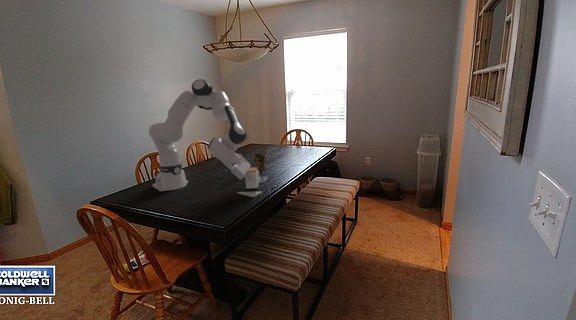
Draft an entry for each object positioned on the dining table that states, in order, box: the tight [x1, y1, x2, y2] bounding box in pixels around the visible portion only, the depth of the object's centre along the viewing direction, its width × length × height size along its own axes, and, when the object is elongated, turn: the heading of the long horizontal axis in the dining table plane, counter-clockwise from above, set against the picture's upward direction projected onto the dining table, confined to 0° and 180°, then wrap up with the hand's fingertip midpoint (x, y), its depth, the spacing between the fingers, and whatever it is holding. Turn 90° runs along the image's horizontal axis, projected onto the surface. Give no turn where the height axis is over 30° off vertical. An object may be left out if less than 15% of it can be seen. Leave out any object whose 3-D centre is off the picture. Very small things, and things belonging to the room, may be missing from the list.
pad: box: [236, 190, 267, 198], centre depth 156 cm, size 12×12×1 cm
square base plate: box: [258, 170, 268, 183], centre depth 173 cm, size 11×11×6 cm
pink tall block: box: [244, 166, 260, 189], centre depth 155 cm, size 6×6×10 cm
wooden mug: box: [253, 146, 268, 171], centre depth 193 cm, size 9×14×18 cm, turn 39°
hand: (252, 177), depth 155 cm, fingers closed on pink tall block, 6 cm apart
